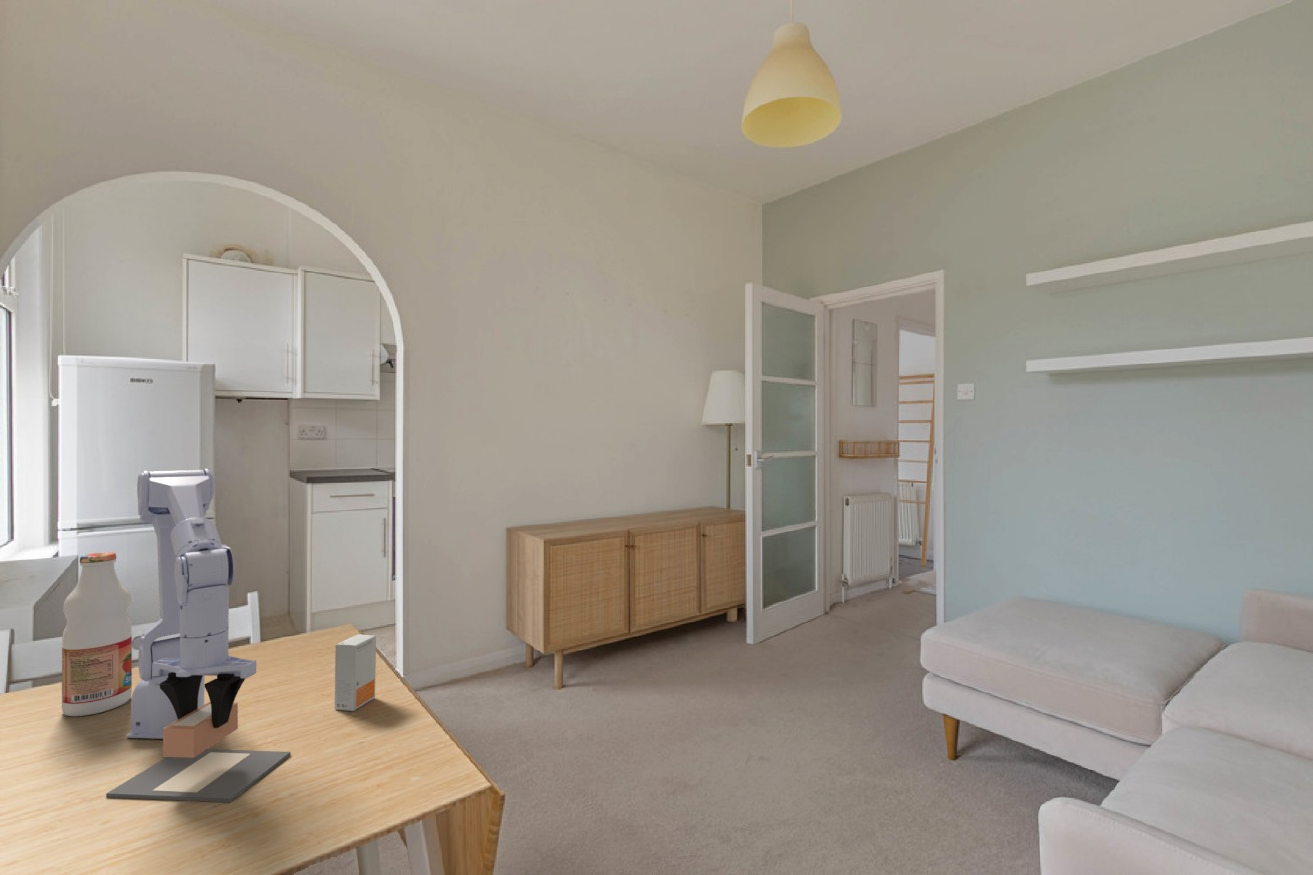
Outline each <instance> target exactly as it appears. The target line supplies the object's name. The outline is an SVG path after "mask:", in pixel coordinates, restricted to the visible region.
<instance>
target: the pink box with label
mask: <svg viewBox="0 0 1313 875" xmlns="http://www.w3.org/2000/svg"><path fill="white" fill-rule="evenodd" d="M238 704H239V703H238V702H234V703H233V706H232V709H231V713H230V716H229V720H228V722H227V723H225V724H224V725H222V726H220V727H219V728H213V724H212V714H211V703H210V701H209V702H207V703H204V705H203V706H201V707H200V708H198V709H196V710H194V711H193V712H191V713H189V714H187V715H186V716H184V717H182V718H180V719H178V720H177V721H175V722H173V723H171V724H170V725H168V726H166V727H164V728H163V739H162V749H163V750H162V756H163V758H166V757H189V758H194V757H196V756H197V755H199V754H200V753H202V752H203V751H205V750H206V749H210V747H212V746H214V745H215V744H217V743H219V742H220V741H222V740H223V739H224V738H226V737H227V736H229V735H231V734H232V733H234V732H236V731H237V730H238V728H239V726H238V725H239V724H238V722H239V720H238V719H239V718H238V715H239V714H238V713H239V712H238V709H239V708H238Z"/></svg>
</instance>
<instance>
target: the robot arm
mask: <svg viewBox="0 0 1313 875" xmlns="http://www.w3.org/2000/svg"><path fill="white" fill-rule="evenodd" d="M214 481H215V480H214V475H213V473H212V472H211V471H210V469H208V468H203V469H188V470H186V469H184V470H157V471H155V470H154V471H153V470H152V471H148V470H142V471H141V472H140V473H139V474H138V476H137V484H136V486H137V488H136V493H137V512H138V513H137V514H138V516H139V517H140V518H139V519H140V521H142V522H145V523H147V524H151V525H152V526H153V528H154V532H155V535H156V547H157V571H158V572H157V574H158V592H159V594H158V595H159V596H158V597H159V600H158V601H159V616H160V617H159V620H158V621H156V622H155V623H154V624H152V625H151V626H150V627H148V628H147V629H146V630H145V631H144V632H142V634H141V636H140V638H139V647H138V648H139V649H138V660H137V662H138V673H139V678H140V679H141V680H140V681H139V682H138V683H137V684H136V686H135V688H134V689H133V692H132V693H131V704H130V705H131V709H130V710H131V711H130V712H131V717H130V718H131V723H130V726H131V727H130V728H131V730H130V732H129V733H127V734H126V738H129V739H130V738H131V739H155V740H158V739H160V740H163V728H164V727H166V726H168V725H170V724H171V723H173V722H175V721H177V720H178V719H180V718H182V717H184V716H186V715H187V714H189V713H191V712H193V711H194V710H196V709H198V708H200V707H201V706H203V705H205V690H206V693H207V695H208V698H209V702H210V703H211V714H212V724H213V728H219V727H220V726H222V725H224V724H225V723H227V722H228V720H229V716H230V713H231V709H232V706H233V703H235V700H236V697H237V696H238V692H239V691H240V688H241V687H242V685H243V683H244V681H246V680H247V679H248V678H250V677H252V676H254V675H255V674H257V660H254V659H253V660H252V659H251V660H250V659H245V658H242V657H236V656H234V655H233V656H232V655H229V629H230V628H229V621H230V620H229V614H230V613H229V608H230V607H229V606H230V604H229V603H230V602H229V600H230V599H229V598H230V597H229V595H230V594H229V593H230V592H229V590H230V589H229V588H230V587H229V586H232V585H233V583H234V579H235V571H236V570H235V569H236V566H235V559H234V558H235V557H234V555H233V551H232V548H231V547H230V546H227V544H222V541H221V537H220V535H219V532H218V528H217V525H216V524H215V523H214V521H212V520H210V519H209V518H206V517H205V516H206V514H207V511H208V510H209V508H210V505H211V502H212V500H213V498H214V493H215V482H214ZM227 585H229V586H227ZM177 634H179V636H175V637H171V638H165V639H161V640H160V638H162V637H166V636H172V635H177ZM157 639H159V640H157ZM205 676H210V677H211V676H215V677H216V678H214V679H212V680H210V681H208V682H205Z"/></svg>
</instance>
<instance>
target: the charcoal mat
mask: <svg viewBox="0 0 1313 875" xmlns="http://www.w3.org/2000/svg"><path fill="white" fill-rule="evenodd" d="M291 753H292V752H291V751H281V750H280V751H278V750H277V751H276V750H273V751H272V750H253V749H252V750H247V749H246V750H245V749H244V750H242V749H221V748H219V749H218V748H217V749H216V748H208V749H206V750H205V751H203V752H202V753H200V754H199V755H197V756H196V757H194V758H189V757H163V758H162V759H160V760H159V761H157V762H156V763H154V764H153V765H151V766H149V767H148V768H145V769H144V770H142V771H141V772H139V773H138V774H136V775H134V776H133V777H131V778H130V779H128V780H126V781H125V782H123V783H122V784H119V785H118V786H117V787H115V788H112V789H111V790H110V791H108V792H106V795H105V797H106V798H117V799H118V798H119V799H120V798H121V799H139V800H140V799H142V800H143V799H144V800H145V799H146V800H165V801H167V800H168V801H169V800H171V801H187V802H189V801H191V802H192V801H194V802H216V803H232V802H233V801H234V800H235V799H236V798H238V797H239V796H241V795H242V794H243V793H245V792H246V791H247V790H248V789H250V788H251V787H252V786H253V785H255V784H256V783H257V782H259V781H260V780H261V779H263V777H264V776H267V774H269V773H270V772H272V770H274V769H275V768H276V767H278V765H280V764H281V763H283V761H285V760H287V759H288V758H290V756H291Z"/></svg>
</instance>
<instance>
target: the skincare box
mask: <svg viewBox="0 0 1313 875" xmlns="http://www.w3.org/2000/svg"><path fill="white" fill-rule="evenodd" d="M376 646H377V635H373V634H372V635H370V634H361V633H359V634H356V635H355V634H354V635H353V636H350V637H348V638H346V639H345V640H343V641H341V642H338V643H336V644H335V652H334V653H335V655H334V656H335V657H334V658H335V660H334V661H335V662H334V663H335V665H334V672H335V673H334V710H338V711H339V710H341V711H349V712H354V711H356V710H357V709H359V708H361V707H362V706H364V705H366V704H367V703H369V702H370V701H373V700H374V699H375V698H376V672H377V671H376V663H377V659H376V654H377V647H376Z"/></svg>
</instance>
